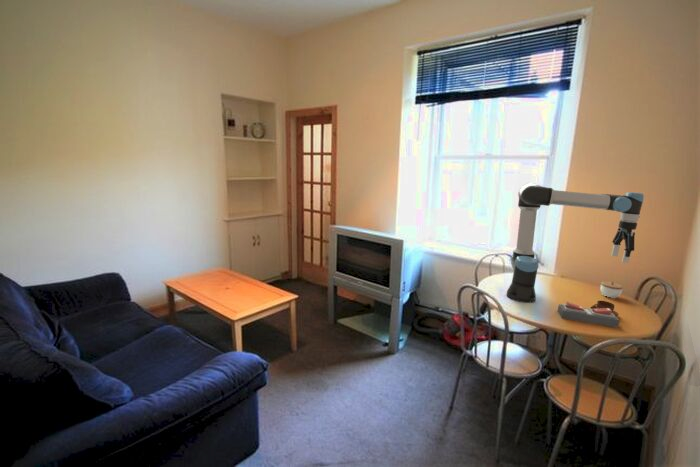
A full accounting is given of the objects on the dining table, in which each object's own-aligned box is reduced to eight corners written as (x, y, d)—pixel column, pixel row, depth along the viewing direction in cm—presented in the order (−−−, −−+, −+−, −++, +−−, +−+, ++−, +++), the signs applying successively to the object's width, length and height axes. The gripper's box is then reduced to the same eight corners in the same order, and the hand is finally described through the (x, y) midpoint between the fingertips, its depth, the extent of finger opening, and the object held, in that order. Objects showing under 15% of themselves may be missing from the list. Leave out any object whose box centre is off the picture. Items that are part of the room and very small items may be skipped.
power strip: (561, 318, 172) (563, 309, 171) (557, 311, 180) (559, 302, 179) (617, 327, 165) (620, 318, 164) (610, 320, 173) (612, 311, 172)
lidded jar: (617, 301, 200) (621, 286, 198) (596, 295, 208) (599, 280, 206) (622, 297, 206) (625, 283, 204) (601, 291, 214) (604, 277, 212)
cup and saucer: (606, 320, 173) (608, 309, 172) (584, 310, 184) (586, 299, 183) (623, 318, 177) (626, 307, 175) (600, 308, 188) (603, 298, 186)
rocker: (568, 306, 173) (569, 303, 172) (566, 303, 176) (567, 301, 176) (582, 311, 171) (584, 309, 171) (580, 308, 174) (581, 306, 174)
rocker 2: (595, 313, 169) (595, 311, 169) (592, 310, 173) (592, 308, 172) (612, 313, 167) (612, 310, 167) (609, 310, 170) (609, 307, 170)
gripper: (649, 225, 171) (638, 266, 175) (626, 218, 194) (617, 254, 198) (631, 224, 173) (621, 264, 177) (610, 217, 196) (602, 252, 201)
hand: (619, 259), depth 188 cm, fingers open, 13 cm apart
